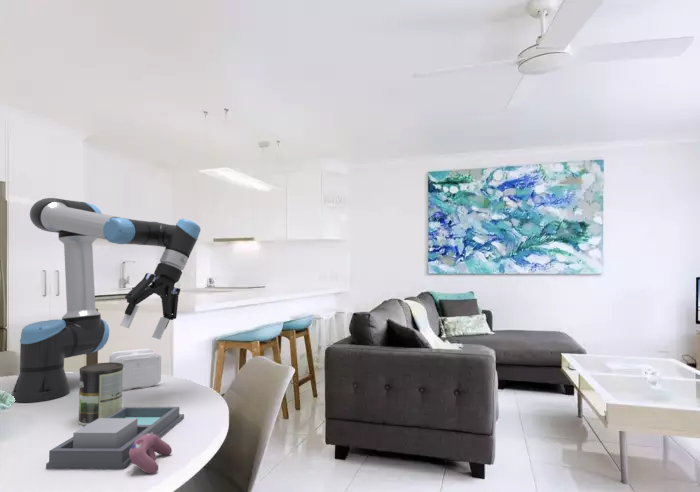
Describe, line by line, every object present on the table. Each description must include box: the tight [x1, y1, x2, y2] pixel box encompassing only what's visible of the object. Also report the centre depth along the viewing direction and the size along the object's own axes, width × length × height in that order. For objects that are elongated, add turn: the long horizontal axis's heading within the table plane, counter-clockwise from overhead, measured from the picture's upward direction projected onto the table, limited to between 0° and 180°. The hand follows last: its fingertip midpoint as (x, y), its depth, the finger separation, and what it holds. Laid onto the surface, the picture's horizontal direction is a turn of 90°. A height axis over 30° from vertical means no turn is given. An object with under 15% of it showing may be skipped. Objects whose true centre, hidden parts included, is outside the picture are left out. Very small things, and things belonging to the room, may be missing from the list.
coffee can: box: [77, 361, 123, 427], centre depth 119 cm, size 10×10×14 cm
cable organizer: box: [109, 348, 162, 392], centre depth 153 cm, size 15×11×12 cm
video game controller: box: [129, 432, 173, 474], centre depth 91 cm, size 10×5×7 cm, turn 5°
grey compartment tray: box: [45, 406, 185, 470], centre depth 104 cm, size 16×30×6 cm, turn 179°
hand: (140, 333), depth 130 cm, fingers open, 13 cm apart
